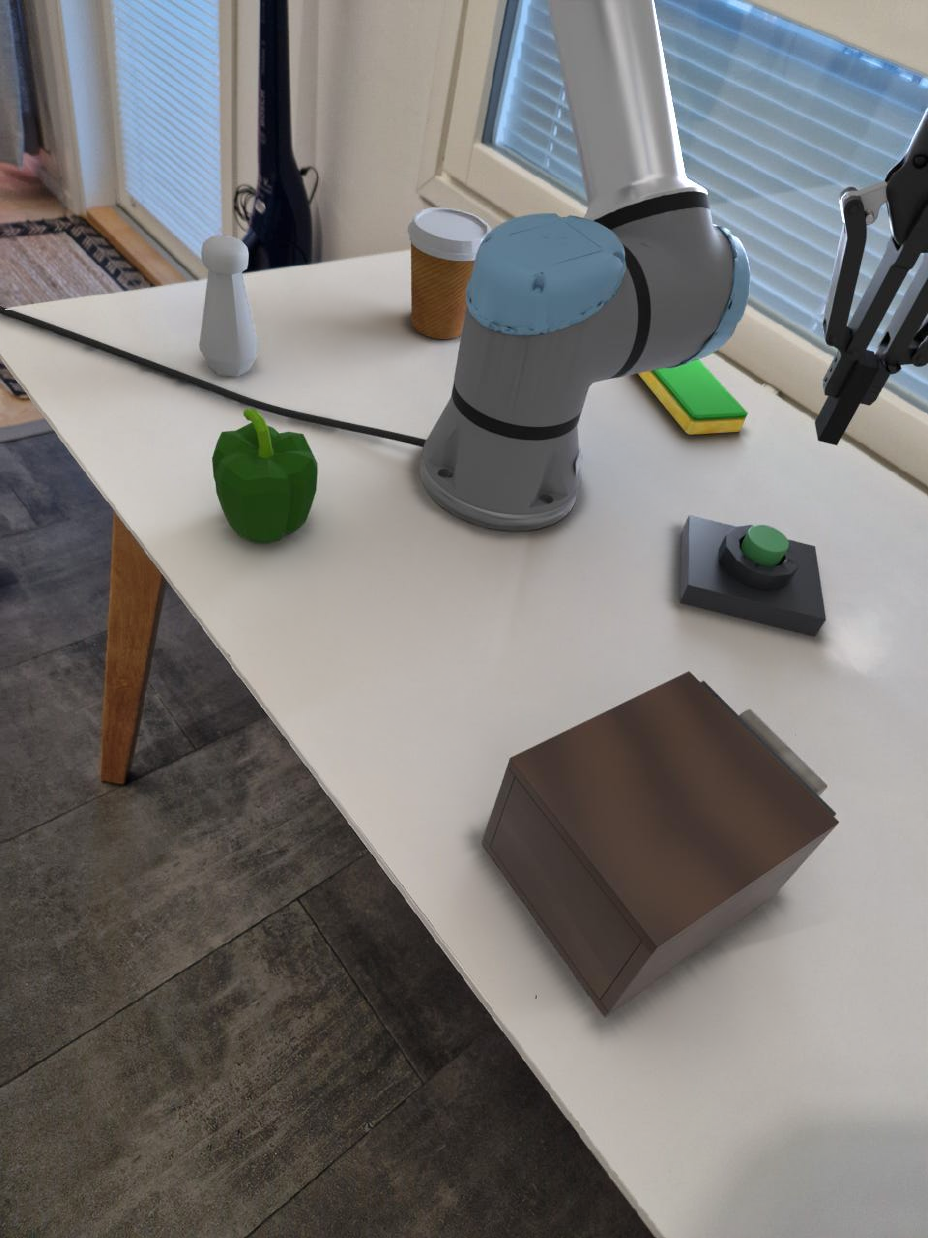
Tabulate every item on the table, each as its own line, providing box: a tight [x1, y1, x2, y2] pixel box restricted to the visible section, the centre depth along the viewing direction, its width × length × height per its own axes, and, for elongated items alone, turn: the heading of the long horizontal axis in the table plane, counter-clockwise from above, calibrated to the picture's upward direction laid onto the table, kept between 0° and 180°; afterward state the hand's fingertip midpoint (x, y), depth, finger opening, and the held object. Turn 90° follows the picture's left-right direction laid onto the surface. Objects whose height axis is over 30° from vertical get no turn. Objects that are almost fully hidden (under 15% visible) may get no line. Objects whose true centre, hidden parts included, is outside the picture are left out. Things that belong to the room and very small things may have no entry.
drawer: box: [700, 680, 837, 818], centre depth 54 cm, size 18×11×8 cm, turn 124°
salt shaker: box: [198, 234, 259, 378], centre depth 85 cm, size 6×6×13 cm
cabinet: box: [481, 670, 840, 1018], centre depth 53 cm, size 15×13×10 cm
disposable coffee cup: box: [407, 206, 492, 340], centre depth 98 cm, size 10×10×12 cm
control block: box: [679, 514, 827, 638], centre depth 77 cm, size 12×10×4 cm
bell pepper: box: [211, 407, 319, 544], centre depth 70 cm, size 8×8×10 cm
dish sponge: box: [637, 359, 749, 436], centre depth 99 cm, size 7×14×2 cm, turn 18°
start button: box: [741, 524, 789, 566], centre depth 75 cm, size 4×4×2 cm
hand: (825, 433), depth 67 cm, fingers closed
